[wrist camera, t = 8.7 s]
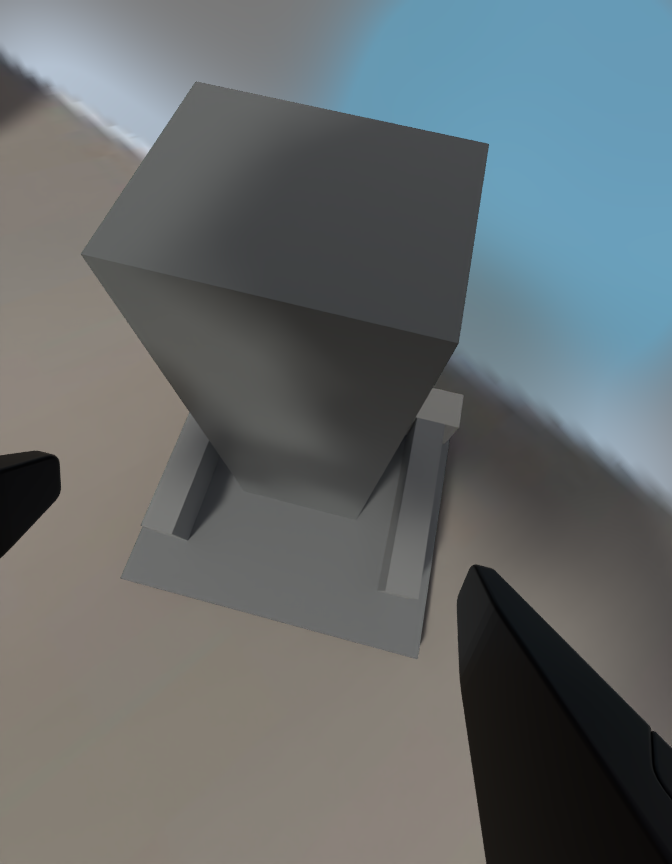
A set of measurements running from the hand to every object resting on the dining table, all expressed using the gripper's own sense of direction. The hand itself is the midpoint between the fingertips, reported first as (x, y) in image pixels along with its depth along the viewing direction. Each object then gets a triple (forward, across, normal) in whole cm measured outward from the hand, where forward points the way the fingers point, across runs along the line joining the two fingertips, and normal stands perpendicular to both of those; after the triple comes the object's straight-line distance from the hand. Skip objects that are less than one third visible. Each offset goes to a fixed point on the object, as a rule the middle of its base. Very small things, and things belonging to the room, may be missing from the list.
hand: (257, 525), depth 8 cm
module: (+9, 0, +3) cm, 10 cm away
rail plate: (+9, 0, +4) cm, 10 cm away
